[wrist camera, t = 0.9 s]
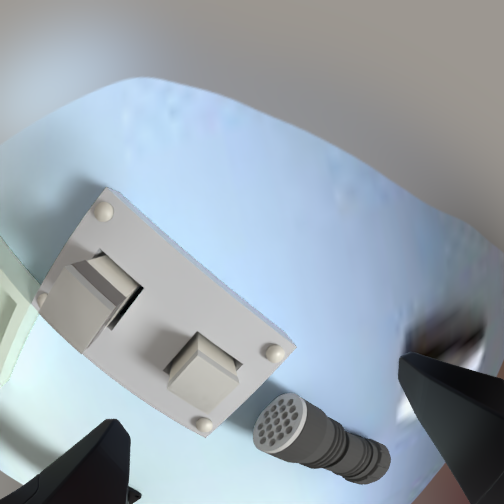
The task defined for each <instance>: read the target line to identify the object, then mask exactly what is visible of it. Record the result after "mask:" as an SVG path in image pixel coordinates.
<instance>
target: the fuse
mask: <svg viewBox="0 0 504 504" xmlns="http://www.w3.org/2000/svg"><path fill="white" fill-rule="evenodd" d="M239 384H240V383H239V379H238V377H237V373H236V368H235V364H234V360H233V357H232V356H231V355H229V354H228V353H227V352H225V351H224V350H222V349H221V348H220V347H218V346H217V345H215V344H214V343H213V342H211V341H210V340H209V339H207V338H206V337H205V336H203V335H202V334H201V333H199V332H198V331H197V332H196V333H195V334H194V335H193V336H192V337H191V339H190V340H189V341H188V342H187V343H186V344H185V346H184V347H183V348H182V349H181V350H180V351H179V352H178V354H177V355H176V356H175V357H174V358H173V362H172V367H171V372H170V377H169V382H168V385H167V390H168V391H170V392H171V393H173V394H174V395H176V396H178V397H179V398H181V399H182V400H184V401H185V402H187V403H189V404H190V405H192V406H193V407H195V408H197V409H198V410H200V411H202V412H203V413H205V414H207V415H208V414H209V413H210V412H212V411H213V410H214V409H215V408H216V407H217V406H218V405H219V404H220V403H221V402H222V401H223V400H224V399H225V398H226V397H227V396H228V395H229V394H230V393H231V392H232V391H233V390H234V389H235V388H236V387H237V386H238V385H239Z"/></svg>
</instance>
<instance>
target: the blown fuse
mask: <svg viewBox="0 0 504 504" xmlns="http://www.w3.org/2000/svg"><path fill="white" fill-rule="evenodd" d="M140 286H141V285H140V284H139V283H138V282H137V281H135V280H134V279H133V278H132V277H131V276H130V275H129V274H127V273H126V272H125V271H124V270H123V269H122V268H121V267H120V266H119V265H118V264H116V263H115V262H114V261H113V260H112V259H111V258H110V257H109V256H108V255H105V256H101V257H98V258H95V259H91V260H88V261H86V260H83V261H80V262H76V263H73V264H71V265H69V266H66V267H64V269H63V270H62V272H61V273H60V275H59V277H58V278H57V280H56V282H55V283H54V285H53V287H52V289H51V290H50V292H49V294H48V296H47V297H46V299H45V301H44V303H43V305H42V307H41V308H40V310H39V312H38V313H39V314H40V315H41V316H42V317H43V318H44V319H45V320H46V321H47V322H48V323H49V324H50V325H51V326H52V327H53V328H54V329H55V330H56V331H57V332H58V333H59V334H60V335H61V336H62V337H63V338H64V339H65V340H66V341H67V342H68V343H69V344H71V345H72V346H73V347H74V348H75V349H76V350H77V351H78V352H80V353H81V354H82V353H83V352H84V351H85V350H86V349H88V348H89V346H90V345H91V344H92V343H93V342H94V341H95V340H96V339H97V338H98V337H99V335H100V334H101V332H102V331H103V330H104V329H105V328H106V327H107V326H108V325H109V324H110V322H111V321H112V320H113V319H114V318H115V317H116V316H117V315H118V314H119V313H120V312H121V311H122V310H123V309H124V307H125V306H126V305H127V303H128V302H129V301H130V299H131V298H132V297H133V295H134V294H135V293H136V291H137V290H138V289H139V288H140Z"/></svg>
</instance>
